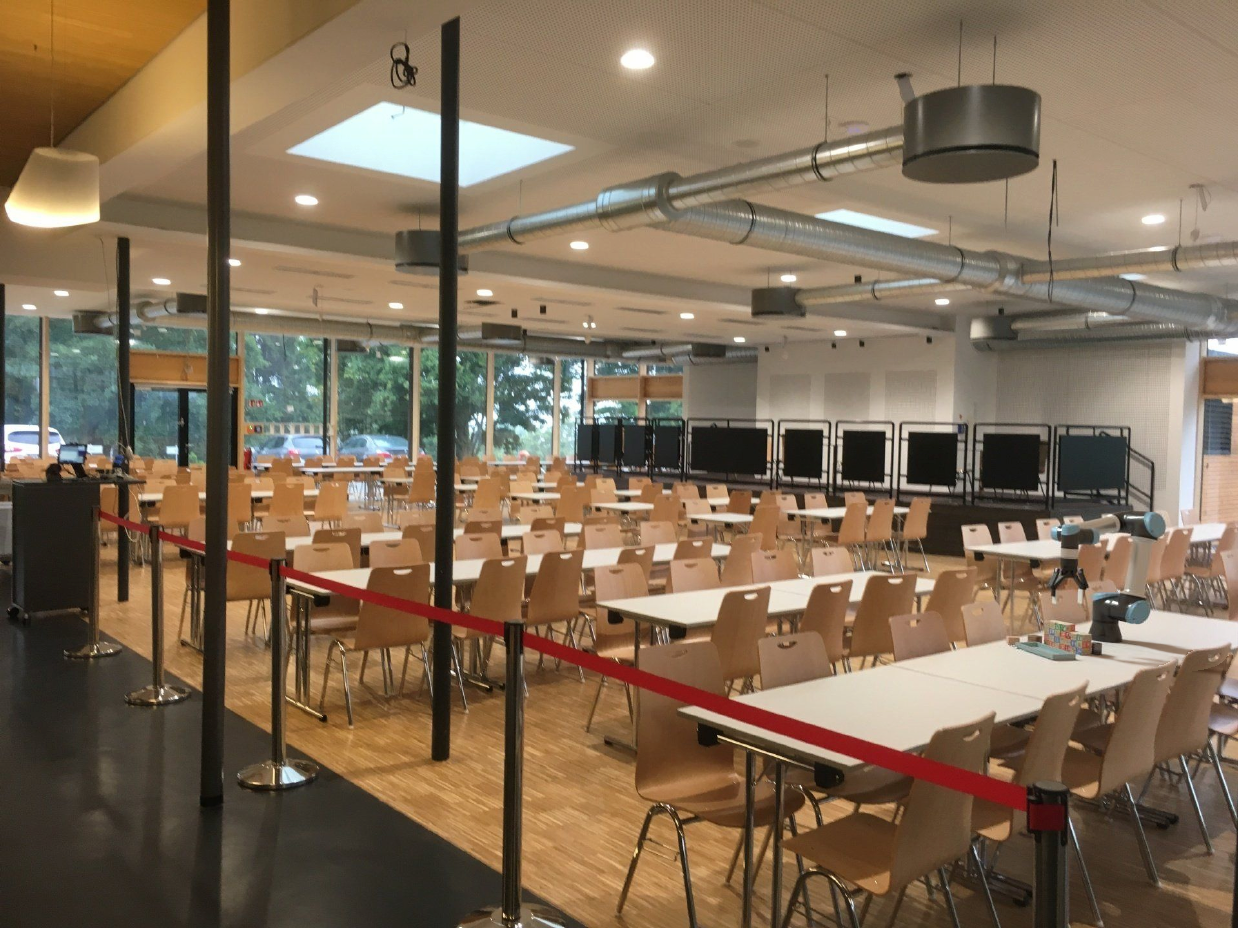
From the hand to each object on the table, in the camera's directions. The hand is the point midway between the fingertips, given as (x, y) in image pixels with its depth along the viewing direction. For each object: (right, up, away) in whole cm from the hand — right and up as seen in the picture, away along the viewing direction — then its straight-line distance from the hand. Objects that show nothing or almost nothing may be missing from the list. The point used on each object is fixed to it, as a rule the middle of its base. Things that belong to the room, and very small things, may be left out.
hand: (1067, 603), depth 453 cm
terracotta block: (-22, -21, +9) cm, 32 cm away
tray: (-14, -21, -9) cm, 27 cm away
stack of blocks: (0, -22, 0) cm, 22 cm away
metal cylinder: (+10, -22, -7) cm, 25 cm away
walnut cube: (-11, -21, +10) cm, 26 cm away
